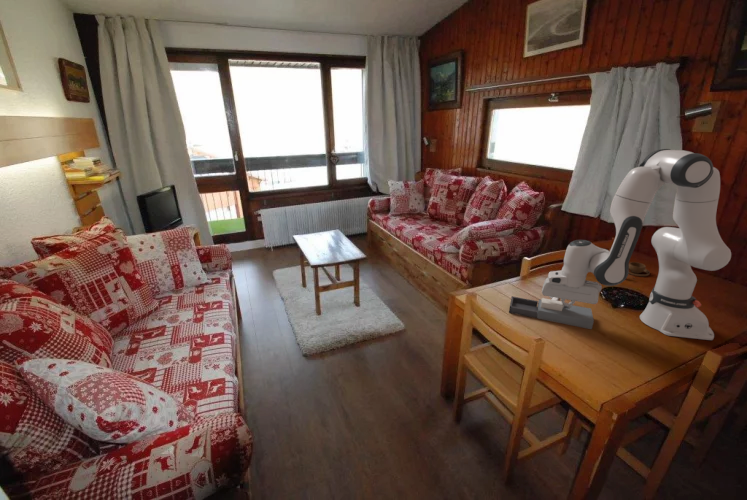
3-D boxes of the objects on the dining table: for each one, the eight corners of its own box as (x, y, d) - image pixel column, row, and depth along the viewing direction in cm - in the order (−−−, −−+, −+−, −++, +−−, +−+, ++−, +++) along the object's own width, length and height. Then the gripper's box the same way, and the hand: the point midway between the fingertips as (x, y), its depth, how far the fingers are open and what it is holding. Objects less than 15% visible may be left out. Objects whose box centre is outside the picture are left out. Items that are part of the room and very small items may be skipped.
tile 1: (551, 304, 143) (551, 299, 142) (551, 309, 140) (552, 304, 139) (540, 302, 145) (541, 297, 144) (540, 307, 142) (541, 302, 141)
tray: (536, 306, 149) (537, 301, 148) (536, 318, 141) (537, 312, 140) (510, 301, 154) (511, 296, 153) (508, 312, 146) (509, 306, 145)
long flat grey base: (588, 316, 141) (590, 308, 140) (591, 329, 133) (593, 321, 131) (537, 306, 149) (538, 299, 148) (537, 318, 141) (538, 310, 140)
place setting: (658, 280, 169) (661, 270, 167) (616, 279, 172) (619, 269, 170) (637, 266, 186) (640, 256, 183) (599, 265, 188) (601, 256, 186)
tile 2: (561, 306, 142) (562, 301, 141) (561, 311, 138) (562, 306, 137) (551, 304, 143) (552, 299, 142) (551, 309, 140) (552, 304, 139)
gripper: (601, 279, 132) (594, 309, 137) (545, 271, 140) (539, 299, 146) (604, 286, 127) (596, 317, 132) (545, 277, 135) (539, 306, 140)
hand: (566, 307), depth 139 cm, fingers closed
